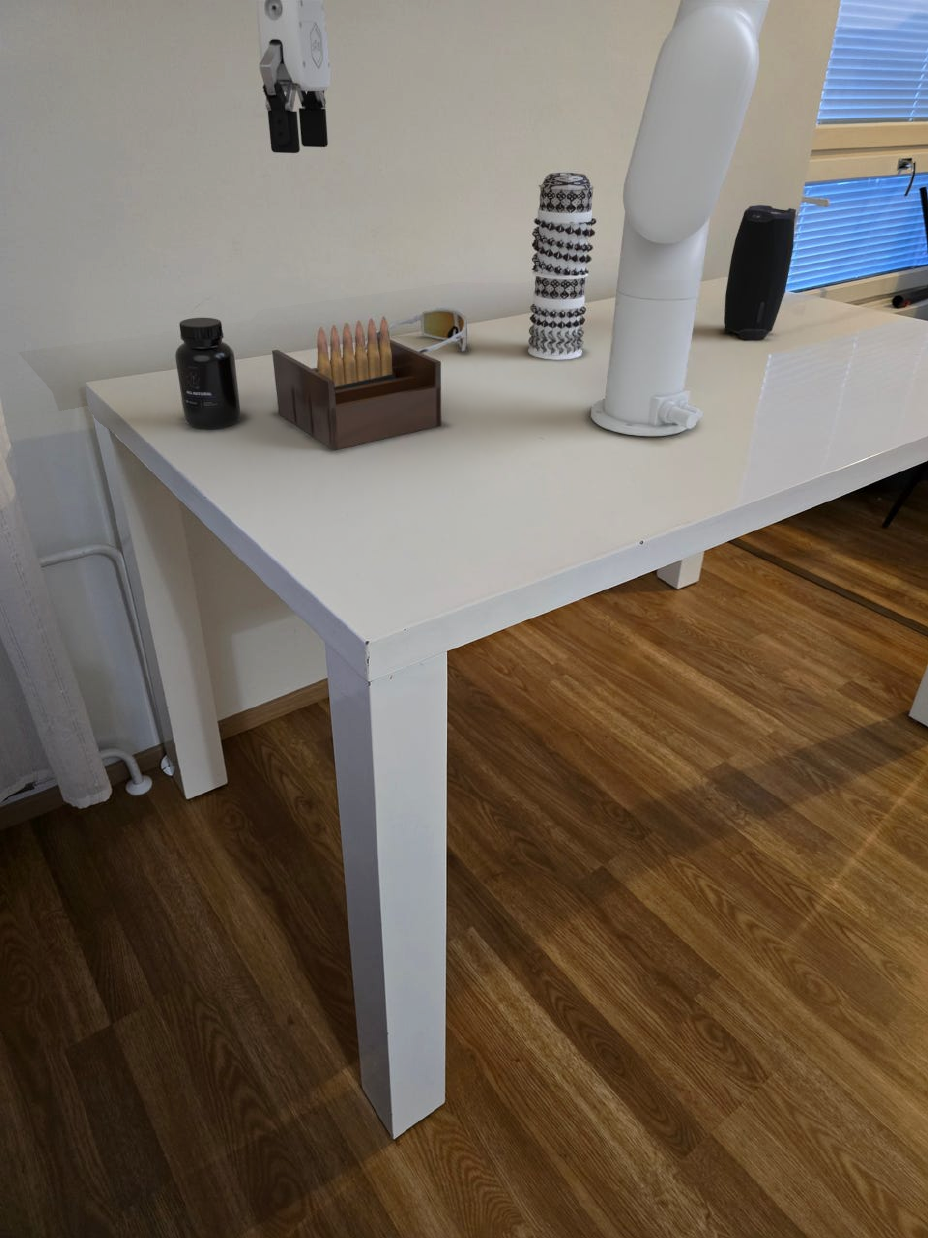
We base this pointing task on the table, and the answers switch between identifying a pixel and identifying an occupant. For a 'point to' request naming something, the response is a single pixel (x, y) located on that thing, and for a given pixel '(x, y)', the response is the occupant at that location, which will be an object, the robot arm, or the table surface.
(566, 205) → the decorative candle
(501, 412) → the table surface
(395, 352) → the rack
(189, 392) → the supplement bottle
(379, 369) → the ammunition clip
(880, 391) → the table surface
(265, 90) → the robot arm
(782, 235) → the portable speaker
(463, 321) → the sunglasses
